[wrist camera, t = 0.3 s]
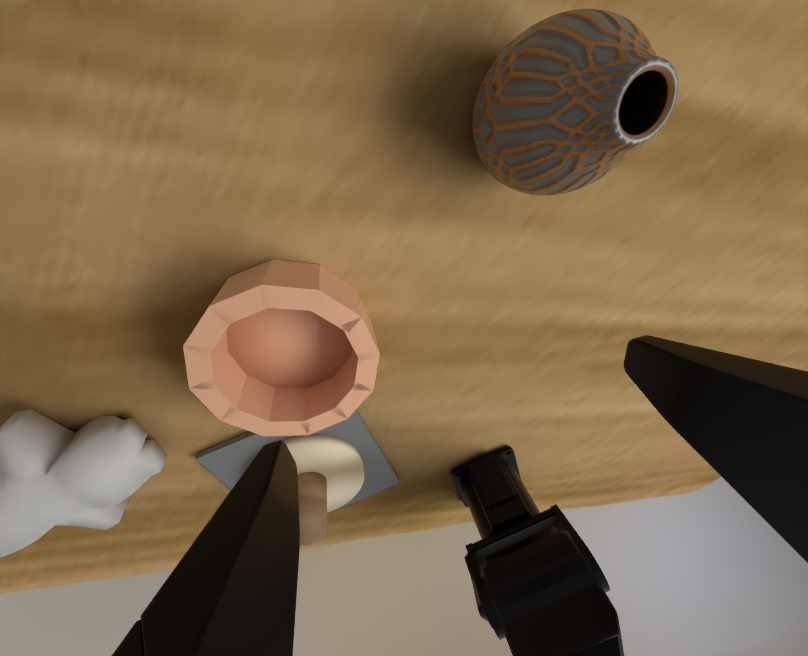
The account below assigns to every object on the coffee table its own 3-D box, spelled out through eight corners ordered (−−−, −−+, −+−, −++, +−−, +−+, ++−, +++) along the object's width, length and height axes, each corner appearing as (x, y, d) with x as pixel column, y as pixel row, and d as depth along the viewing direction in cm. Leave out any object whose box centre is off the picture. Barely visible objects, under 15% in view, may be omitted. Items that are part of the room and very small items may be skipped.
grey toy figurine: (177, 516, 22) (-89, 625, 19) (193, 457, 26) (-23, 540, 24) (78, 420, 17) (-296, 548, 15) (118, 367, 22) (-166, 458, 19)
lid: (378, 480, 30) (387, 536, 26) (286, 519, 30) (281, 582, 26) (335, 417, 25) (338, 473, 21) (226, 463, 25) (207, 528, 21)
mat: (397, 477, 31) (399, 483, 31) (281, 527, 31) (280, 533, 31) (345, 391, 25) (345, 396, 24) (198, 452, 25) (195, 459, 24)
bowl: (389, 361, 24) (400, 396, 21) (264, 413, 24) (255, 457, 21) (330, 235, 19) (332, 255, 16) (170, 300, 19) (137, 335, 16)
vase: (438, 166, 19) (515, 184, 11) (484, 12, 16) (630, -105, 8) (537, 199, 21) (656, 232, 13) (593, 69, 18) (786, 18, 10)
